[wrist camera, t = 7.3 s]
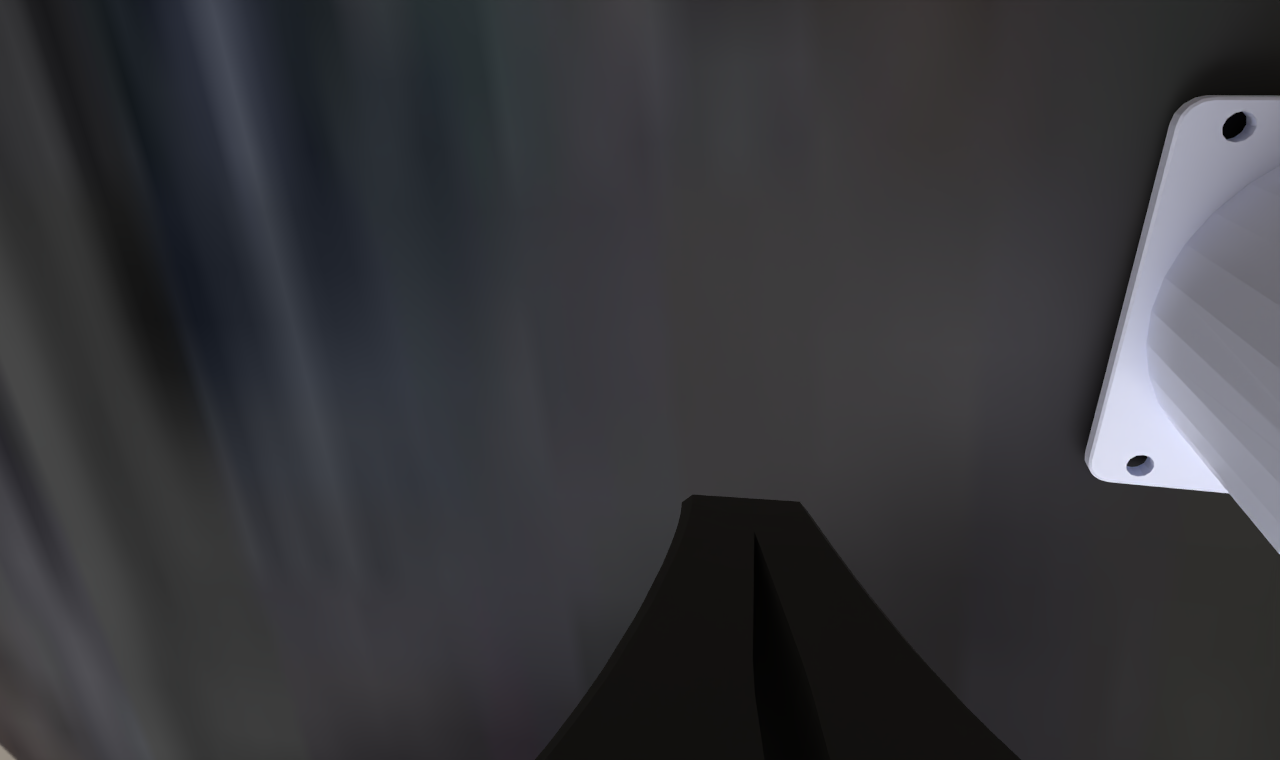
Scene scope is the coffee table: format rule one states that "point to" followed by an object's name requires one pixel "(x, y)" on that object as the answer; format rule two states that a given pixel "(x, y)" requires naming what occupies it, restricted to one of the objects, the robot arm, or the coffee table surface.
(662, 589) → the robot arm
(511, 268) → the coffee table surface
